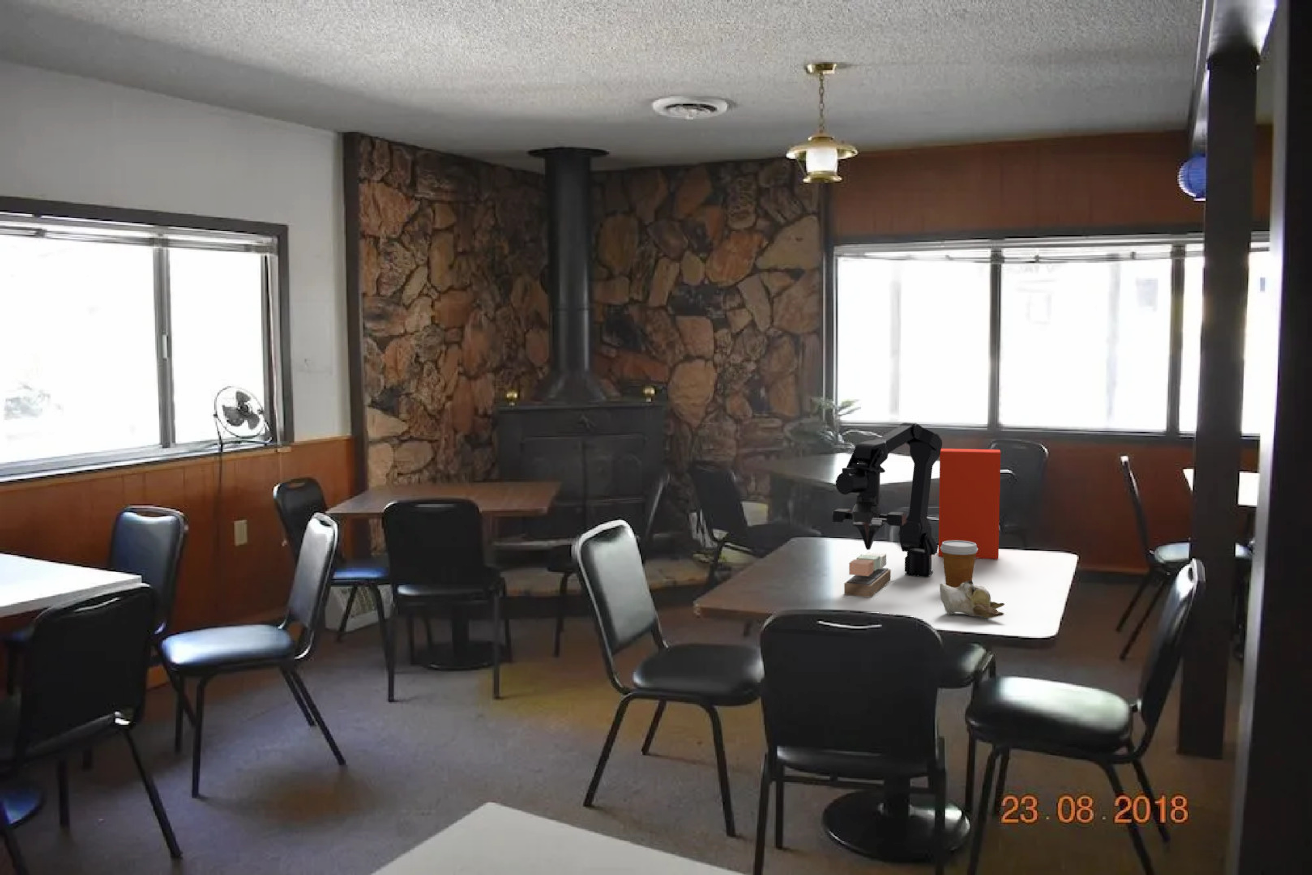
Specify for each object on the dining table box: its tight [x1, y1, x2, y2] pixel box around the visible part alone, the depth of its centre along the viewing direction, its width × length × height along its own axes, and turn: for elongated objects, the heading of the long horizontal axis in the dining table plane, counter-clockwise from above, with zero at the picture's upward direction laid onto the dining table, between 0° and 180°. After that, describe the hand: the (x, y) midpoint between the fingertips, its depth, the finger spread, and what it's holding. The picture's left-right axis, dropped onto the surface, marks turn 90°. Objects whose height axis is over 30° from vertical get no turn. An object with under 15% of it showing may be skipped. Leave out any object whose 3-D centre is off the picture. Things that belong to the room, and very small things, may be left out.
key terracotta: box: [848, 558, 873, 576], centre depth 278 cm, size 5×5×3 cm
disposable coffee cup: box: [940, 540, 978, 588], centre depth 282 cm, size 10×10×12 cm
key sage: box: [856, 553, 880, 571], centre depth 284 cm, size 5×5×3 cm
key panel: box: [843, 567, 892, 598], centre depth 285 cm, size 7×21×3 cm, turn 154°
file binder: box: [937, 448, 1002, 560], centre depth 324 cm, size 8×17×32 cm, turn 74°
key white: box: [864, 551, 887, 568], centre depth 291 cm, size 5×5×3 cm
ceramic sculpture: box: [939, 580, 1005, 619], centre depth 255 cm, size 11×9×15 cm
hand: (868, 549), depth 284 cm, fingers closed
